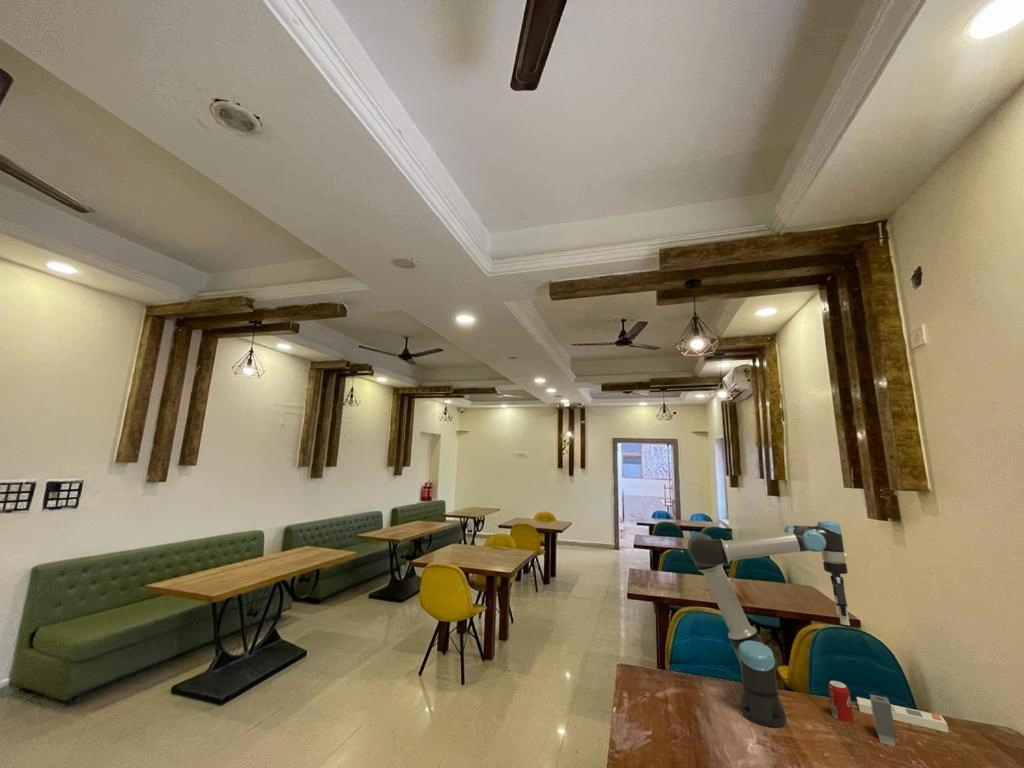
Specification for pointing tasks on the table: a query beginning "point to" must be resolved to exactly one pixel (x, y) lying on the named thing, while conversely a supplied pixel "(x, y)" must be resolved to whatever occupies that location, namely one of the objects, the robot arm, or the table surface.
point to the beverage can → (840, 702)
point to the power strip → (907, 715)
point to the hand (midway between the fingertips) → (843, 619)
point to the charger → (883, 719)
